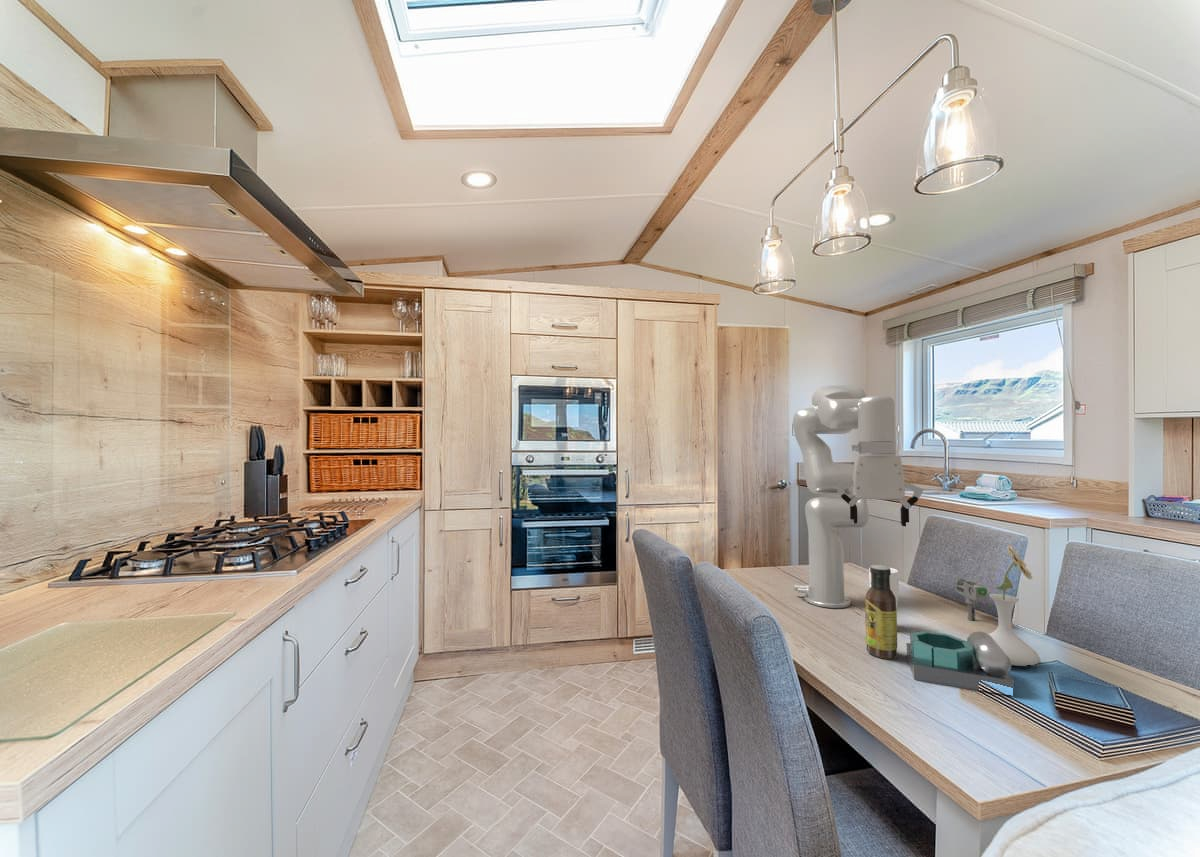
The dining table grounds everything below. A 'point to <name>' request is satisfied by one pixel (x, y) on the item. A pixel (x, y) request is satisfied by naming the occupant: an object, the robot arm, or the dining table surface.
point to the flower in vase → (1004, 634)
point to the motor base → (954, 675)
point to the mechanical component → (971, 594)
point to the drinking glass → (891, 583)
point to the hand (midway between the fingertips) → (879, 524)
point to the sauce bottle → (881, 615)
